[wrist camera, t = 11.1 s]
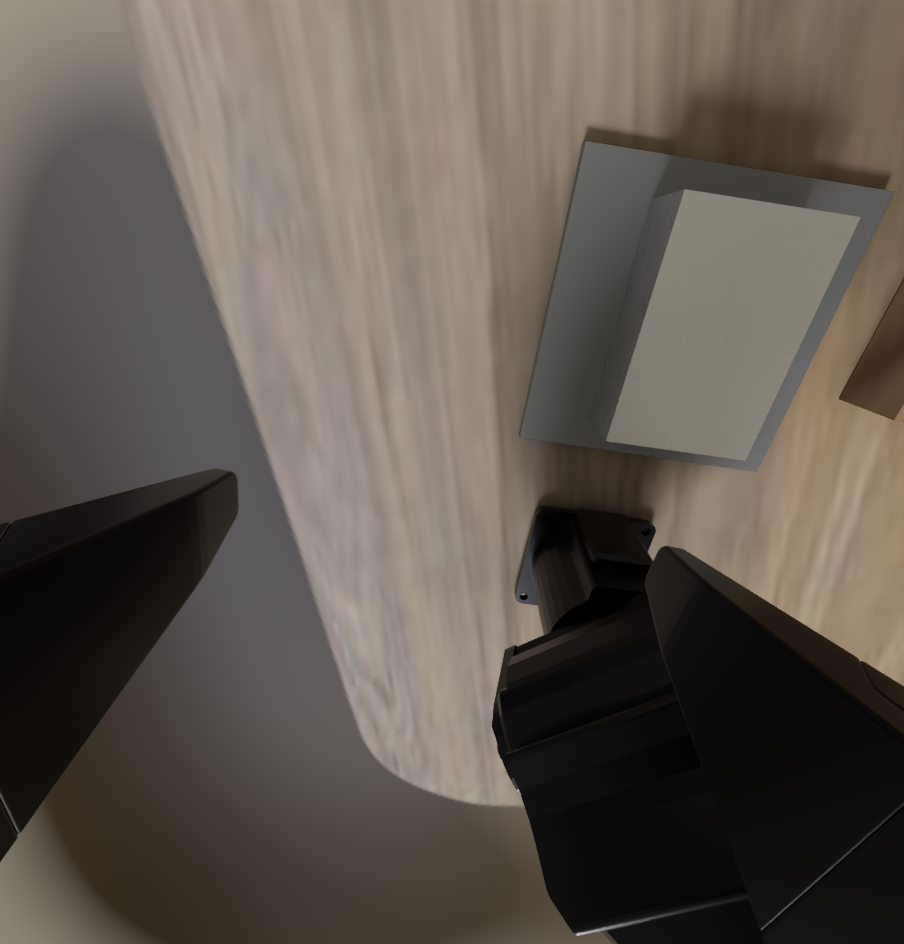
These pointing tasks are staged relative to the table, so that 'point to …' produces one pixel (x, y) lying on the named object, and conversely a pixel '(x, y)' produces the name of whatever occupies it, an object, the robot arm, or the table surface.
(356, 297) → the table surface
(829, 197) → the rubber mat
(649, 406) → the lever cap
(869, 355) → the plane body
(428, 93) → the table surface
